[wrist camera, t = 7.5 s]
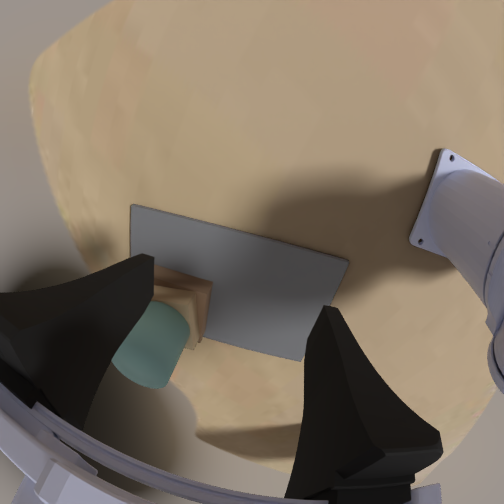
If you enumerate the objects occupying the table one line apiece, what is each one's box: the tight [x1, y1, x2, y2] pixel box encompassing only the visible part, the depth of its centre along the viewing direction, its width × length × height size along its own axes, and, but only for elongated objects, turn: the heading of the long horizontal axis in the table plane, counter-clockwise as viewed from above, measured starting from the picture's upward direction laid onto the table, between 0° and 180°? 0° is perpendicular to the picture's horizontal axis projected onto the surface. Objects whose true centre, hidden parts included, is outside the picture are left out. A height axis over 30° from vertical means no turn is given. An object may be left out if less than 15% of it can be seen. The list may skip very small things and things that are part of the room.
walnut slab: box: [154, 264, 213, 343], centre depth 24 cm, size 6×6×2 cm
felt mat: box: [131, 204, 349, 362], centre depth 24 cm, size 18×12×1 cm, turn 78°
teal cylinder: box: [111, 301, 190, 389], centre depth 19 cm, size 5×5×5 cm
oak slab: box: [151, 285, 200, 350], centre depth 22 cm, size 5×5×2 cm
